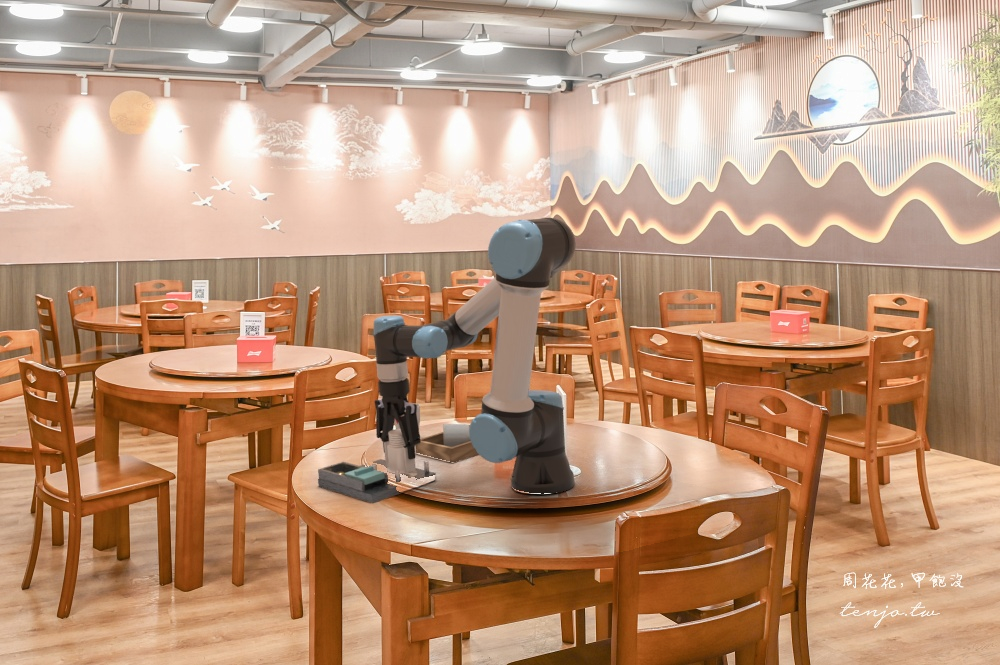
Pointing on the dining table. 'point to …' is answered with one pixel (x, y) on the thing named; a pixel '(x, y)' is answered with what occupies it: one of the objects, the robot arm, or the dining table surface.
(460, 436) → the ceramic mug
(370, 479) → the cover
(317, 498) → the dining table surface
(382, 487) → the housing board
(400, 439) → the downlight
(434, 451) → the wooden caddy
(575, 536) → the dining table surface
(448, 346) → the robot arm
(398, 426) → the cup
